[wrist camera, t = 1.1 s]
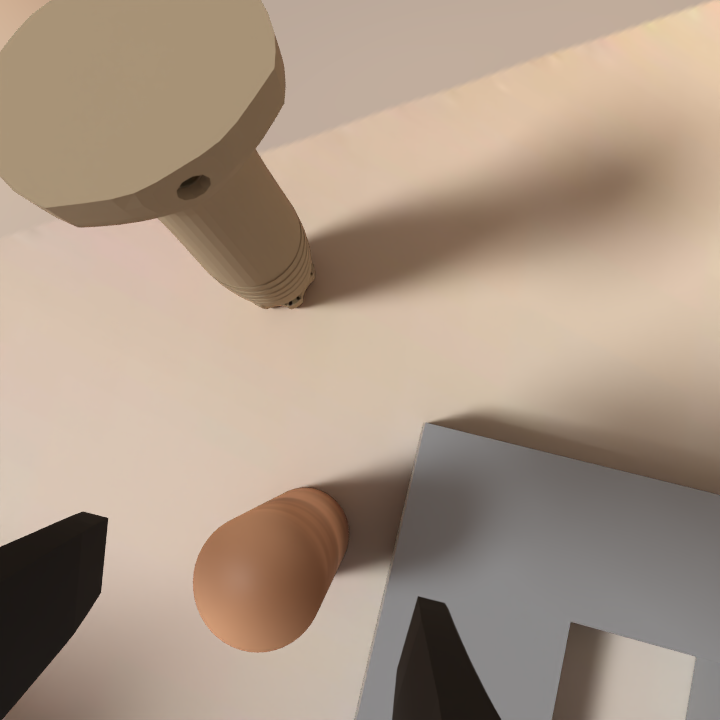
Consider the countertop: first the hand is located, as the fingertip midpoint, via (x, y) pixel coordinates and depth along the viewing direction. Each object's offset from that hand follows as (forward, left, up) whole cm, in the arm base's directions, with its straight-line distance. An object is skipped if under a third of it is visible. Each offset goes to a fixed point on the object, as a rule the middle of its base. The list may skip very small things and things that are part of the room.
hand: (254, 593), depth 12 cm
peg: (-1, +1, -12) cm, 12 cm away
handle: (+10, +5, -13) cm, 17 cm away
